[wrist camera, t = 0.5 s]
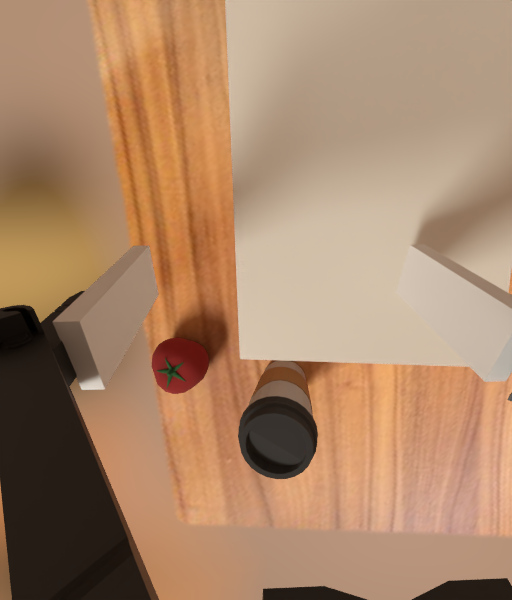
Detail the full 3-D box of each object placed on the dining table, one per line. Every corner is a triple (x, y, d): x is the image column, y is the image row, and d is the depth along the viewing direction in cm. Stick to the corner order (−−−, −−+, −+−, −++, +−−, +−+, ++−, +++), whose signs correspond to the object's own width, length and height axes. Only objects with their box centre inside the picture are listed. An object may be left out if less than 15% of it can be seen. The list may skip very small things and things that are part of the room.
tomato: (163, 332, 44) (137, 348, 37) (212, 332, 42) (195, 348, 35) (168, 379, 45) (144, 403, 38) (216, 380, 44) (200, 406, 37)
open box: (269, 115, 36) (221, -96, 14) (393, 102, 33) (570, -176, 12) (272, 298, 40) (240, 359, 18) (382, 298, 38) (498, 367, 16)
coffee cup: (294, 413, 43) (292, 498, 28) (247, 385, 43) (220, 455, 28) (323, 369, 41) (335, 437, 26) (273, 341, 41) (258, 392, 27)
